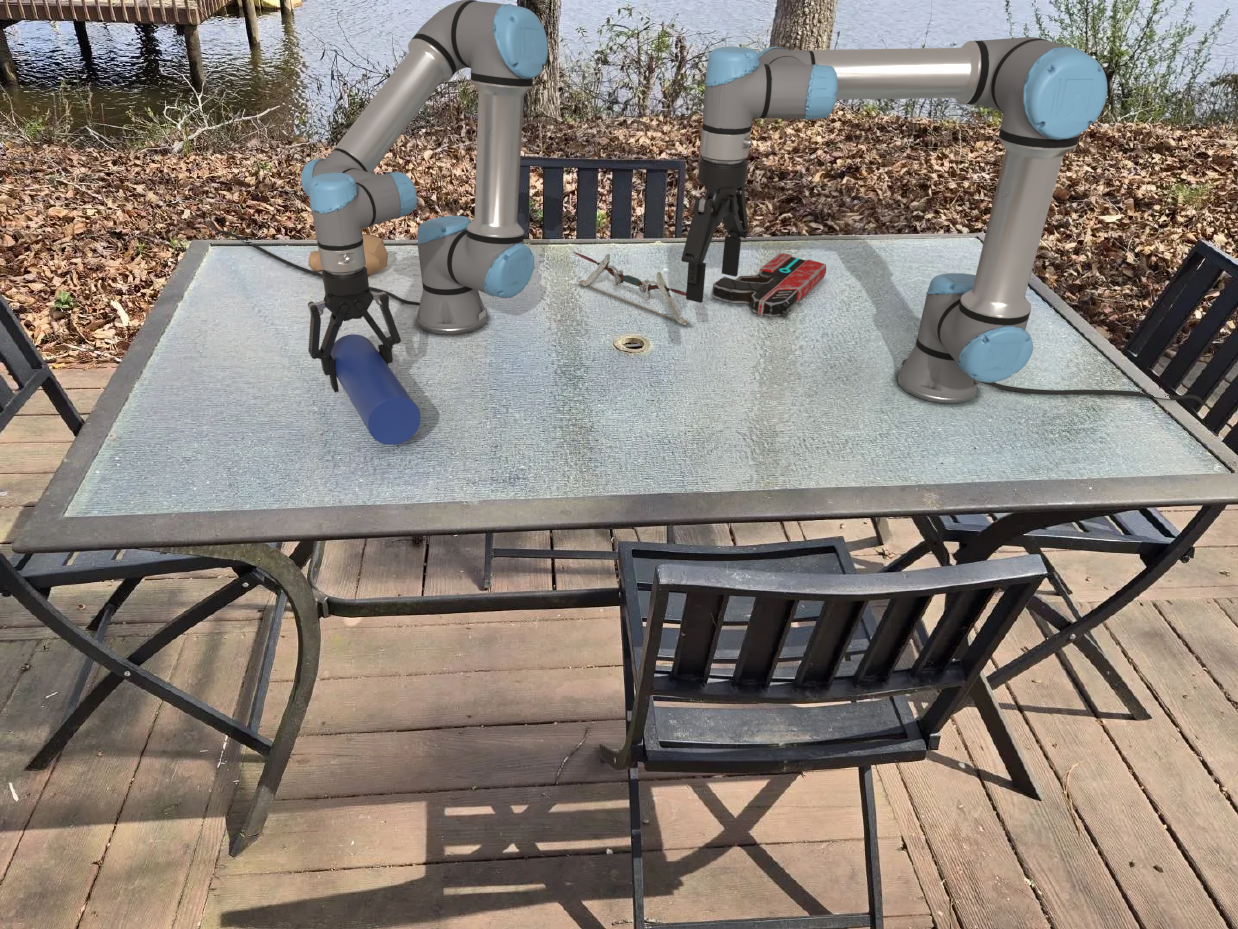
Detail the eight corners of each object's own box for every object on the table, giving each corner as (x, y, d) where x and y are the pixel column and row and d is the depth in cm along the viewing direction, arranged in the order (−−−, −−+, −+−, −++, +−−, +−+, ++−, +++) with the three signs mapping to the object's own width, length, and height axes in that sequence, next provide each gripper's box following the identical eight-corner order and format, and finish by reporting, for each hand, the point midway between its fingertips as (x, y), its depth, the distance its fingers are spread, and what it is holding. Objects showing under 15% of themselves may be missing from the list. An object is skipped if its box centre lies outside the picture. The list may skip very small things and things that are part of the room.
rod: (332, 381, 165) (324, 338, 160) (378, 372, 169) (372, 330, 164) (371, 450, 145) (364, 403, 140) (423, 438, 149) (418, 392, 144)
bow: (697, 327, 197) (701, 285, 192) (692, 329, 196) (696, 287, 191) (576, 279, 219) (576, 241, 213) (571, 281, 218) (571, 242, 212)
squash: (388, 280, 216) (377, 247, 210) (309, 287, 218) (296, 255, 212) (396, 257, 224) (386, 225, 218) (320, 264, 226) (308, 233, 219)
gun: (708, 284, 207) (784, 305, 199) (760, 245, 229) (831, 262, 221) (706, 302, 209) (781, 323, 201) (758, 261, 231) (828, 278, 223)
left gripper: (283, 284, 144) (306, 404, 156) (411, 265, 153) (423, 380, 165) (274, 269, 149) (297, 386, 162) (399, 252, 158) (411, 364, 171)
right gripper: (710, 180, 125) (699, 317, 137) (777, 145, 143) (762, 268, 155) (664, 171, 128) (657, 306, 140) (735, 138, 146) (723, 260, 158)
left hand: (360, 383), depth 163 cm, fingers closed on rod, 9 cm apart
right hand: (712, 287), depth 148 cm, fingers open, 13 cm apart
